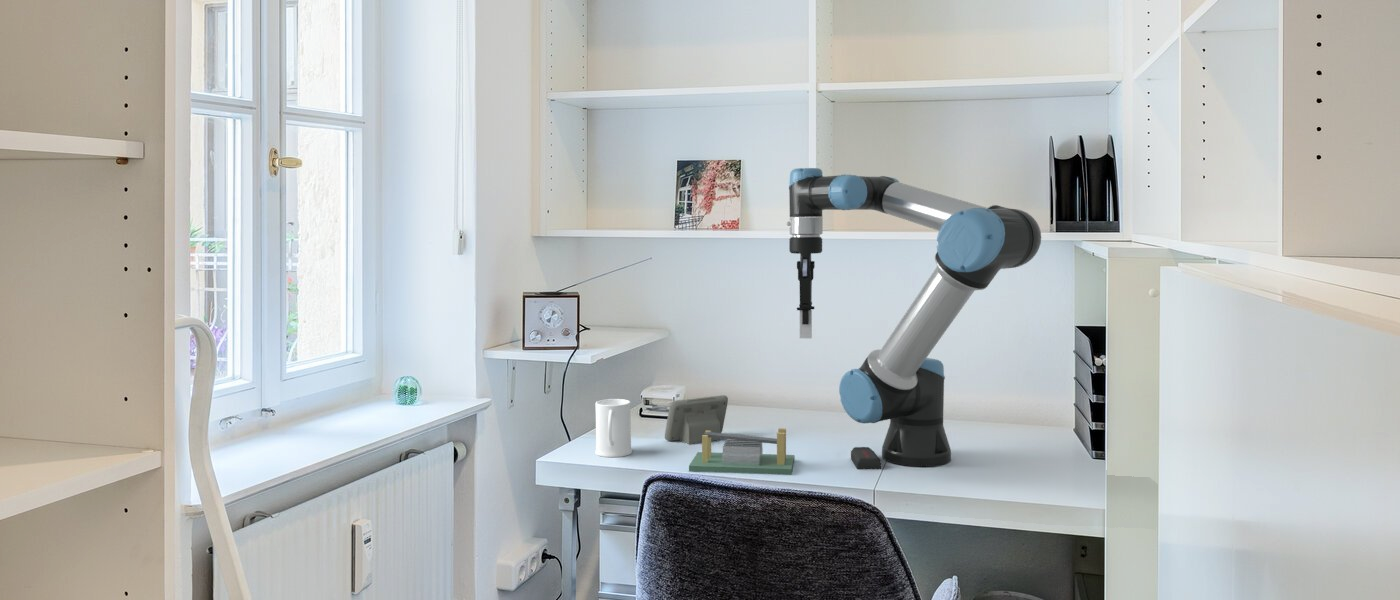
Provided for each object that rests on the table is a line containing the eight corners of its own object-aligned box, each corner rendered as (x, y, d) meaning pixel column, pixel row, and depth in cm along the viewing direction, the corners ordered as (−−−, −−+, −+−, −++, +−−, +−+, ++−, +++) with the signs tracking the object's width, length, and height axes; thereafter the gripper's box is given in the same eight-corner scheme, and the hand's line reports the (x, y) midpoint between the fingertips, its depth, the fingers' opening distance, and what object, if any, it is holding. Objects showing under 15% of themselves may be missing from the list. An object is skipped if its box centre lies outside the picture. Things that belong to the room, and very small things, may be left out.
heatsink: (762, 456, 211) (762, 439, 210) (759, 465, 203) (759, 448, 202) (727, 455, 212) (726, 438, 212) (722, 464, 204) (722, 447, 204)
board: (794, 460, 212) (794, 425, 211) (791, 474, 200) (791, 437, 199) (697, 457, 215) (697, 422, 214) (689, 471, 203) (688, 434, 203)
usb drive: (857, 470, 204) (857, 458, 204) (848, 456, 216) (848, 445, 216) (881, 470, 204) (881, 458, 204) (871, 456, 216) (871, 444, 216)
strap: (784, 442, 207) (784, 438, 207) (783, 445, 204) (783, 441, 204) (705, 434, 210) (705, 430, 210) (703, 438, 207) (703, 433, 207)
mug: (625, 461, 212) (625, 408, 211) (588, 460, 213) (587, 408, 212) (635, 448, 224) (634, 398, 223) (599, 448, 224) (598, 398, 223)
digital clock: (722, 433, 239) (722, 391, 238) (734, 441, 231) (734, 398, 230) (660, 438, 235) (660, 395, 234) (670, 446, 226) (669, 402, 225)
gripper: (791, 235, 224) (791, 334, 226) (787, 236, 211) (787, 341, 213) (823, 235, 223) (822, 334, 225) (821, 236, 210) (821, 341, 212)
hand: (805, 337), depth 219 cm, fingers closed
